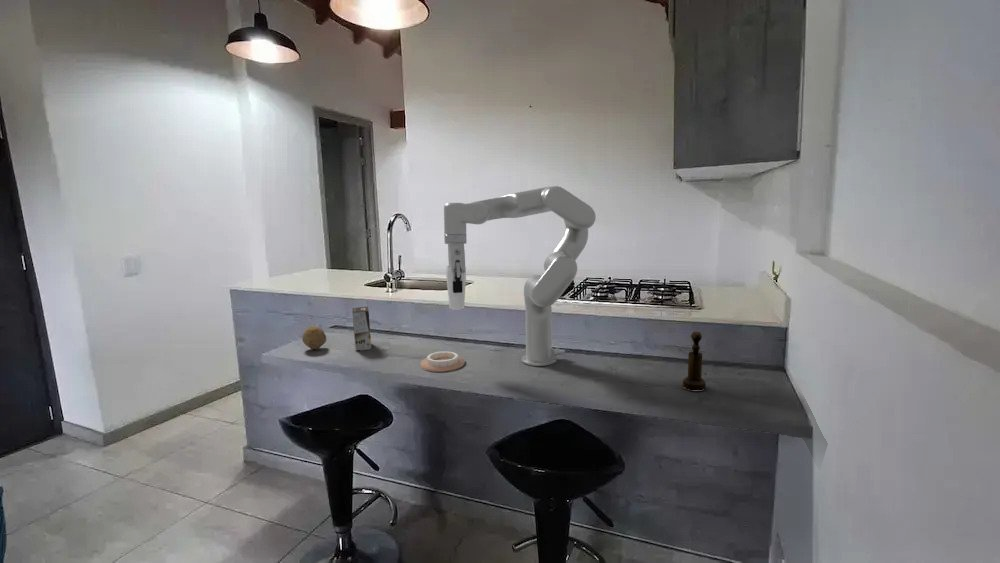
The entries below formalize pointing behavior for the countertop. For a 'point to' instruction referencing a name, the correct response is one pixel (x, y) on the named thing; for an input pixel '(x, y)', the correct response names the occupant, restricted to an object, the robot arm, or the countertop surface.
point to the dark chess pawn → (695, 366)
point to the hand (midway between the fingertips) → (456, 290)
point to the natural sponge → (314, 337)
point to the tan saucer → (442, 362)
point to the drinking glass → (455, 298)
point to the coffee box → (361, 328)
